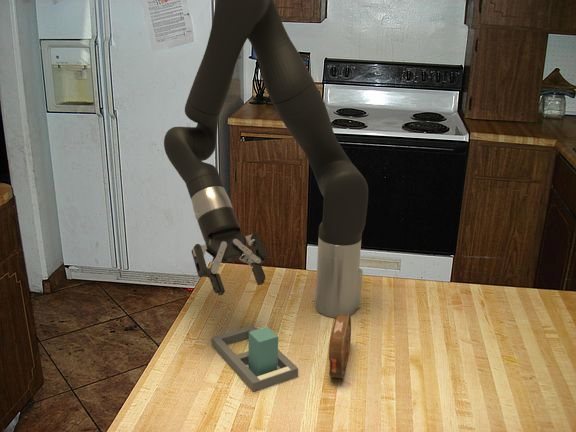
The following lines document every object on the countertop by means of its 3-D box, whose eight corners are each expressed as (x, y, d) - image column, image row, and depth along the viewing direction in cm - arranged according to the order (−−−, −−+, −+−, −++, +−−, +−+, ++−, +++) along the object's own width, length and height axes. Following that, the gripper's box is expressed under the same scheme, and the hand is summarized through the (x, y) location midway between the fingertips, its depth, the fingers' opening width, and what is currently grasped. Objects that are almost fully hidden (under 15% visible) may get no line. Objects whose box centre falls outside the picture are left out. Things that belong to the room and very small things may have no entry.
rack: (252, 332, 132) (253, 324, 131) (297, 376, 118) (298, 367, 117) (211, 344, 127) (211, 336, 127) (253, 391, 113) (253, 383, 113)
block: (266, 362, 122) (267, 326, 119) (277, 373, 119) (278, 336, 116) (248, 368, 120) (248, 331, 117) (258, 379, 117) (259, 342, 114)
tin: (342, 388, 115) (345, 348, 112) (325, 385, 116) (327, 345, 113) (351, 343, 129) (354, 307, 126) (336, 341, 130) (338, 305, 127)
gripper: (186, 211, 120) (214, 290, 115) (252, 199, 127) (281, 273, 122) (177, 228, 126) (202, 304, 121) (240, 216, 133) (267, 287, 128)
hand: (242, 288), depth 122 cm, fingers open, 8 cm apart
